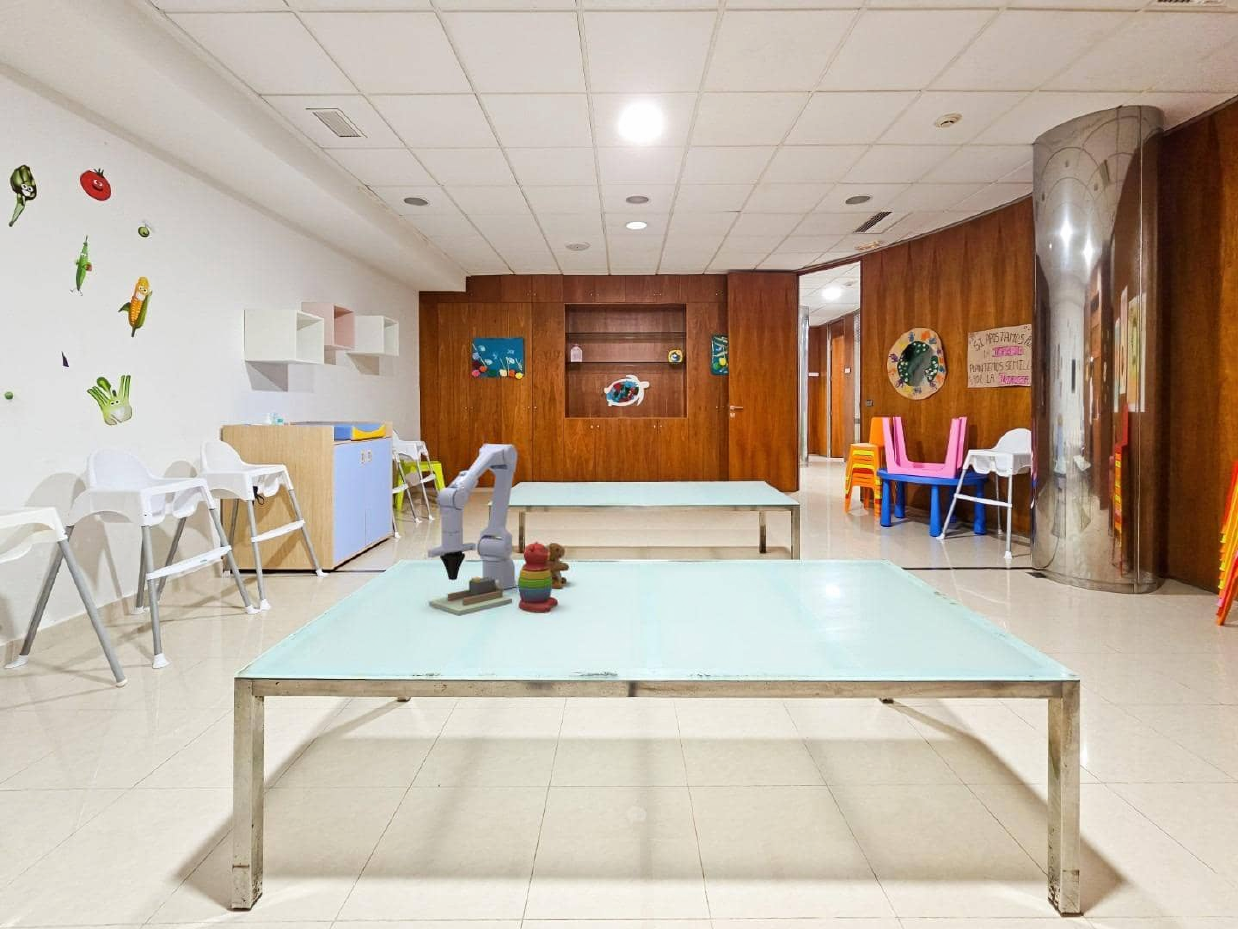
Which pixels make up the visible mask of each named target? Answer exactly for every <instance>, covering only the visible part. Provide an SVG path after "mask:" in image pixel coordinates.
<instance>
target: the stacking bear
mask: <svg viewBox="0 0 1238 929" xmlns="http://www.w3.org/2000/svg"><path fill="white" fill-rule="evenodd" d="M550 557H551V554H550V552H549V551H548V550H547V549H546V546H545V545H544V544H542V543H540V542H538V541H535V542H534V543H530V544H528V545H526V546H525V548H524V550H523V559H524V561H525V564H523V565H522V567H521V569H520V571H519V576H518V580H517V585H518V586H517V587H518V589H517V590H518V593H519V598H520V600H519V602H518V608H519V609H521V610H523V611H527V612H531V613H549V612H550V611H551V610H552V607H555V606H557V605H558V604H559V602H558V599H557V598H555V597H552V596H551V595H552V590H553V588H552V577H551V572H550V569H549V566H548V564H547V562H548V561H549V559H550Z"/></svg>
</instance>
